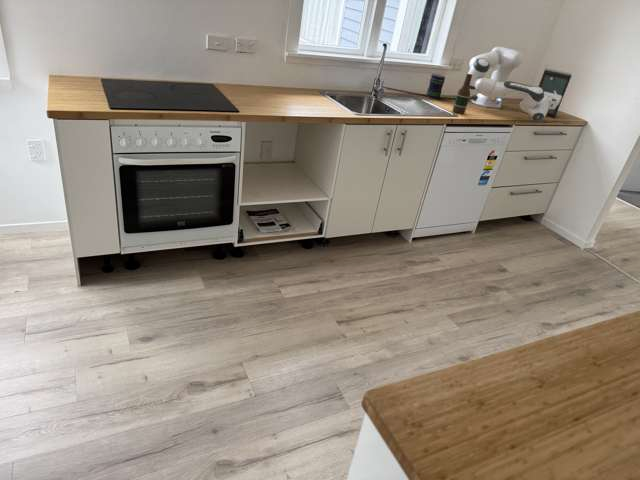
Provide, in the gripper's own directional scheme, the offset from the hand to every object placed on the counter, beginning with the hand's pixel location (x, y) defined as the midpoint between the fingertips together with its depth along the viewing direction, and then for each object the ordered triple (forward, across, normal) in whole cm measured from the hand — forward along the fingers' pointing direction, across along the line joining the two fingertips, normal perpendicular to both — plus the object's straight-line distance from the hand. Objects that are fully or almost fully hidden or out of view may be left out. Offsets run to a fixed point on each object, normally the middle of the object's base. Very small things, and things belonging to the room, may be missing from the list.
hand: (547, 89), depth 329 cm
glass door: (+2, +3, -22) cm, 22 cm away
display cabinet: (+11, +3, -29) cm, 31 cm away
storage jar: (-27, -71, -8) cm, 76 cm away
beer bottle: (-53, -47, +7) cm, 72 cm away
